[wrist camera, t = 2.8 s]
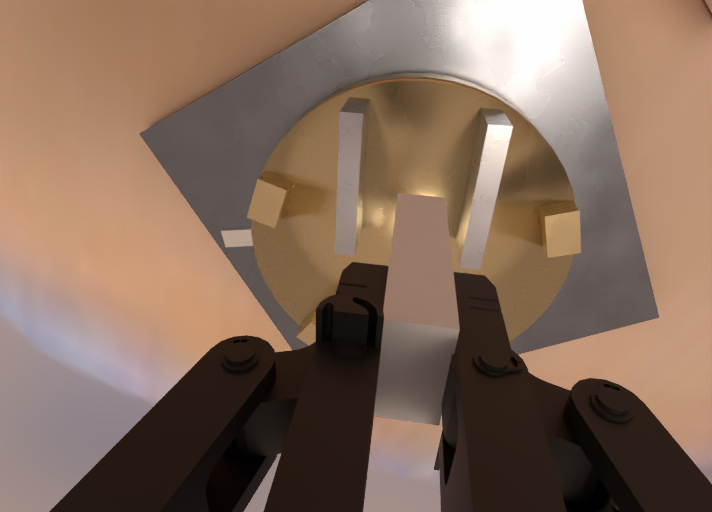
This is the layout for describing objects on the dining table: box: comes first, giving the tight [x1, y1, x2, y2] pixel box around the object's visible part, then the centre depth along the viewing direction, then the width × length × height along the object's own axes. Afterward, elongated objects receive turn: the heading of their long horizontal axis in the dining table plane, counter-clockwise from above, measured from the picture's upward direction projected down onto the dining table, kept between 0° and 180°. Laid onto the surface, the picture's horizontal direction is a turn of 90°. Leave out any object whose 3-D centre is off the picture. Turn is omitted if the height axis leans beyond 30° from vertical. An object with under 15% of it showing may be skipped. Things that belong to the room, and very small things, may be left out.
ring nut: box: [247, 73, 581, 345], centre depth 25 cm, size 18×18×5 cm
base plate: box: [140, 0, 659, 354], centre depth 28 cm, size 24×24×2 cm
